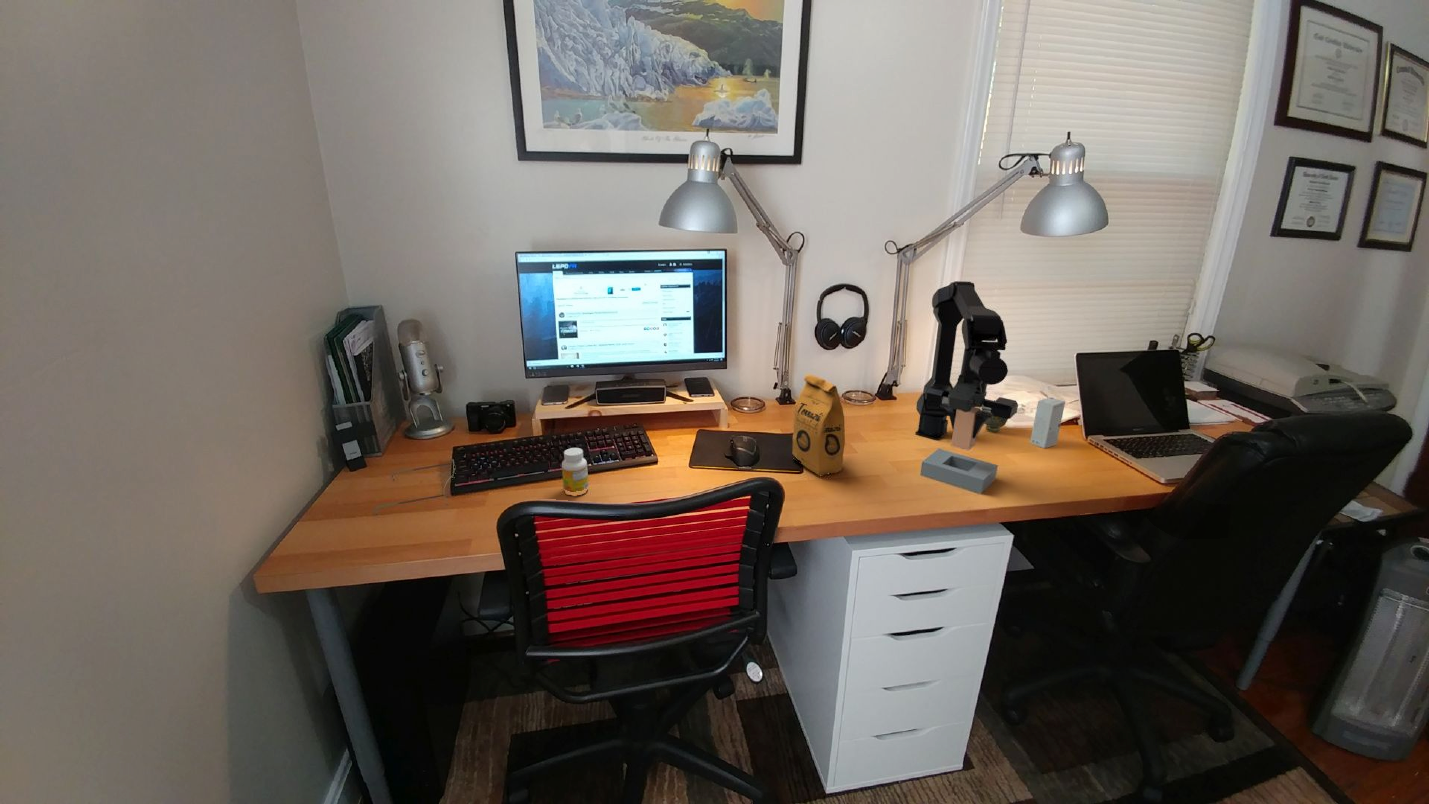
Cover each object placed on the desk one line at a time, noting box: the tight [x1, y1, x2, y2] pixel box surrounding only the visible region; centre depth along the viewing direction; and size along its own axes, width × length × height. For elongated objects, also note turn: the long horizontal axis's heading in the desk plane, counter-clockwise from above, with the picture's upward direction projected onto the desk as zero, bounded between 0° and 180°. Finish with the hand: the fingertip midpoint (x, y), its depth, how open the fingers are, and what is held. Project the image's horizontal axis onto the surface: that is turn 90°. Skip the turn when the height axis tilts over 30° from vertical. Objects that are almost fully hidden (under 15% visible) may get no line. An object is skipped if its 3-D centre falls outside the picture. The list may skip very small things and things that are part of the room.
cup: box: [984, 399, 1009, 433], centre depth 166 cm, size 8×7×8 cm
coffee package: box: [791, 373, 846, 476], centre depth 142 cm, size 10×12×22 cm
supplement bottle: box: [561, 447, 589, 492], centre depth 131 cm, size 5×5×10 cm
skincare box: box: [1030, 397, 1066, 449], centre depth 158 cm, size 6×4×12 cm
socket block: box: [919, 448, 999, 495], centre depth 140 cm, size 14×10×4 cm
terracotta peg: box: [950, 407, 982, 451], centre depth 137 cm, size 4×4×9 cm
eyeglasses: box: [374, 458, 456, 514], centre depth 131 cm, size 16×15×5 cm
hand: (964, 435), depth 137 cm, fingers closed on terracotta peg, 4 cm apart
